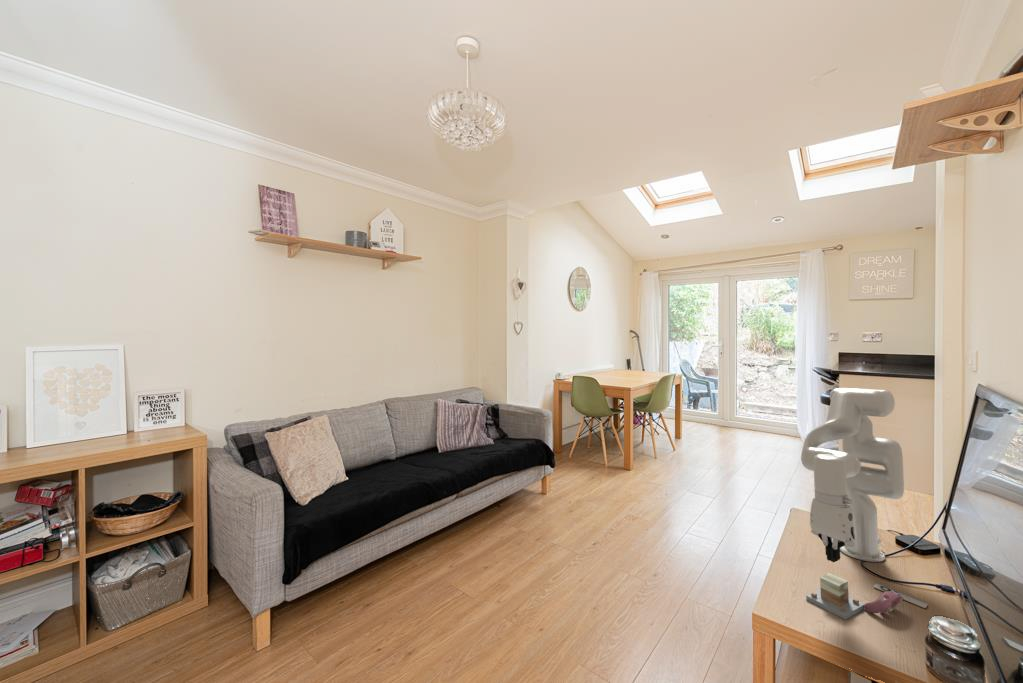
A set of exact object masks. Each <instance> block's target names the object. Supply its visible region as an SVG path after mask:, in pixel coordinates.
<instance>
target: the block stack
mask: <svg viewBox="0 0 1023 683" xmlns="http://www.w3.org/2000/svg"><path fill="white" fill-rule="evenodd" d="M819 581H820V582H819V583H820V585H819V586H820V588H821V598H822V599H824V600H827V601H829V602H831V603H833V604H835V605H837V606H839V607H840V606H842V605H844V604H846V603H848V602H849V597H850V596H849V581H848V580H845V579H844V578H841V577H839V576H836V575H834V574H832V573H830V572H828V573H826V574H825V575H822V576H821V577H819Z"/></svg>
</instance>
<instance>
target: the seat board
mask: <svg viewBox="0 0 1023 683" xmlns="http://www.w3.org/2000/svg"><path fill="white" fill-rule="evenodd" d="M805 597H806V600H807V601H808V602H810V603H813V604H814V605H816V606H818V607H821V608H822V609H824V610H825V611H828V612H830V613H832V614H834V615H836V616H837V617H839V618H842V619H844V620H847V619H849V618H851V617H853V616H854V615H856V614H858V613H860V612H861V611H863V610H866V609H865V608H864V605H865V603H862V602H861V601H860V599H857V598H855V597H854V598H852V597H850V596H849V602H848V603H846V604H844V605H842V606H840V607H839V606H837V605H835V604H833V603H831V602H829V601H827V600H824V599H822V598H821V587H820V588H819V589H816V590H815V591H812V592H810V593H808V594H807V595H806V596H805Z"/></svg>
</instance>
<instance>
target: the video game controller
mask: <svg viewBox="0 0 1023 683" xmlns="http://www.w3.org/2000/svg"><path fill="white" fill-rule="evenodd" d="M903 600H904V596H902V595H901V594H900V593H898V592H896V591H895V590H892V591H885V592H883V593H882V594H880V595H879V597H878V598H877V599H876V600H873V601H869V602H866V603H864V608H865V609H864V610H865V611H867V612H868V613H871V614H879V613H881V614H883V615H886V613H888V612H889V613H890V612H893V611H895V608H896V607H897V605H899V604H900V603H901V602H902V601H903Z"/></svg>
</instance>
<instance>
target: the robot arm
mask: <svg viewBox="0 0 1023 683" xmlns="http://www.w3.org/2000/svg"><path fill="white" fill-rule="evenodd" d="M829 399H830V404H829V407H828V413H827V417H826V421H825V422H824V423H822V424H819V425H818V426H816V427H814V428H813V429H812V430H810V432H808V433H807V435H806V437H804V438H805V439H804V441H803V447H802V449H801V455H800V457H801V464H802V466H803V467H804V468H805V469H806V470H808V471H811V472H813V479H814V497H813V498H812V501H811V505H810V512H809V525H810V526H809V527H810V529H811V530H810V532H811V533H812V534H813V535H815V536H816V537H818V538H819V539H820V540H821V541H822V544H823V545H824V546H825V556H826V560H827V561H828V562H830V561H831V563H835V562H838V561H839V560H840V559H841V552H842V553H843V554H845V555H846V556H847V557H848V556H849V557H851V558H853V559H856V560H857V559H858V560H860V561H863V562H864V561H866V562H871V563H880V562H883V561H884V560H885V559H886V556H885V553H884V552H883V551H881V550H880V548H879V545H880V544H881V543H882V540H881V539H880V538H879V531H878V530H879V528H878V527H879V526H878V508H877V505H876V504H875V501H873V499H872V498H871V497H870V496H874V497H879V498H885V499H891V500H899V499H901V498H903V497H904V492H905V483H904V482H905V479H904V478H905V477H904V456H903V450H902V449H903V448H902V447H901V445H900V443H899V442H897V440H895V439H891V438H884V437H875V436H874V435H873V433H874V432H873V431H874V430H873V422H872V420H871V419H870V417H875V418H876V417H877V418H878V417H881V418H884V417H888V416H889V415H890V414H892V412H893V411H894V409H895V405H896V404H895V397H894V396H893V393H892V392H891V391H889V390H887V389H877V388H875V389H872V388H853V387H852V388H851V387H839V388H833V389H832V390H831V391H830V392H829ZM868 416H869V417H868ZM839 440H842V442H841V443H842V450H837V449H831V448H824V447H819V446H821V445H822V444H824V443H827V442H833V441H839ZM861 463H864V464H871V465H875V466H882V467H883V468H884V469H882V468H878V467H877V468H876V467H870V466H867V465H866V466H865V465H862V464H861Z"/></svg>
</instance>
